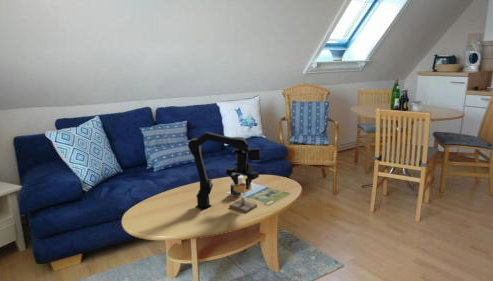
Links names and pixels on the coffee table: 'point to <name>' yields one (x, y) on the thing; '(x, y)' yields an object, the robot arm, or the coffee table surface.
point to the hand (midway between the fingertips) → (242, 188)
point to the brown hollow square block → (241, 187)
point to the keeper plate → (243, 205)
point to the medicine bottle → (233, 193)
